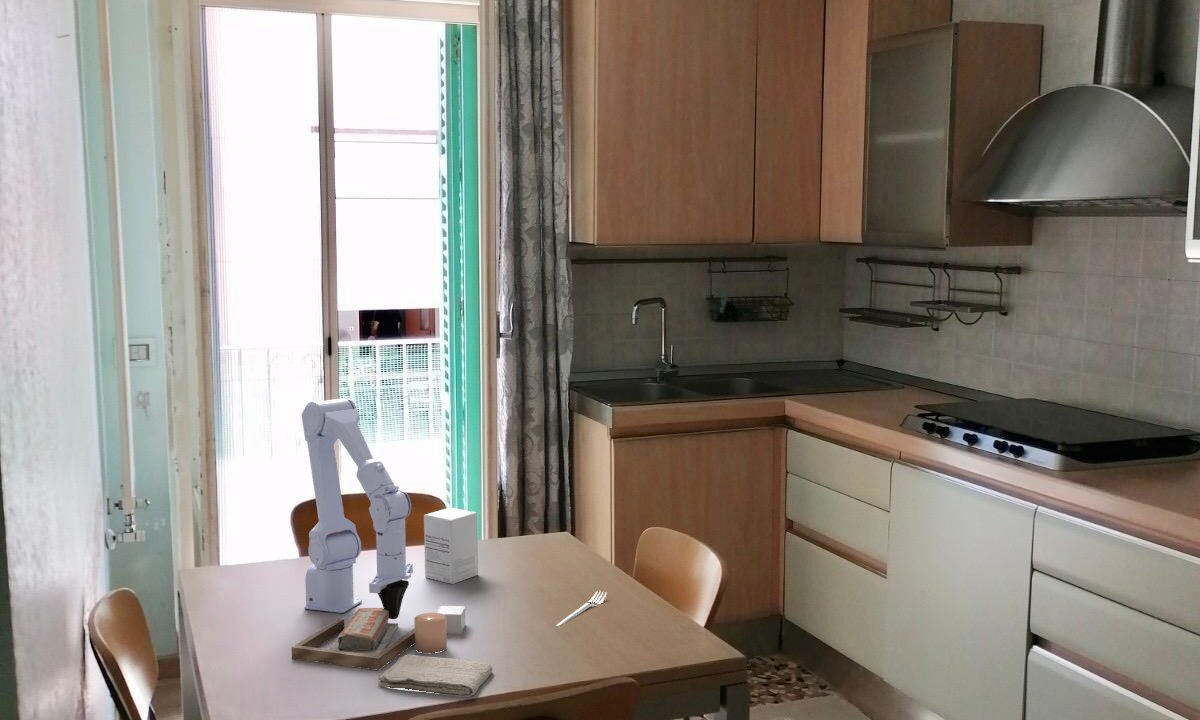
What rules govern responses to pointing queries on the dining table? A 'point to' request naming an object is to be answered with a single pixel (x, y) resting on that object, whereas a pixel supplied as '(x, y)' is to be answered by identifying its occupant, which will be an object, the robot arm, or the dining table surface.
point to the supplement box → (451, 545)
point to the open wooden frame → (311, 653)
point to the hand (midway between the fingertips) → (392, 617)
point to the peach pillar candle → (430, 632)
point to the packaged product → (366, 632)
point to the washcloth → (436, 675)
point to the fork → (585, 606)
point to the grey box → (454, 618)
